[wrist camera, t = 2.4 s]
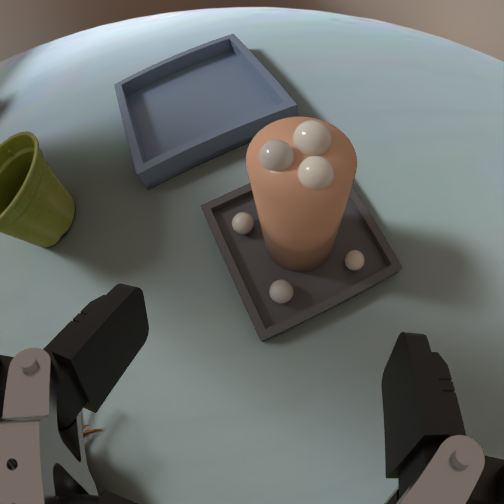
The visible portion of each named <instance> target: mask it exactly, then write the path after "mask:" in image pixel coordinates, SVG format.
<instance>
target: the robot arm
mask: <svg viewBox="0 0 504 504" xmlns="http://www.w3.org/2000/svg"><path fill="white" fill-rule="evenodd" d="M148 331H149V325H148V319H147V313H146V307H145V301H144V295H143V291H142V290H141V289H140V288H138V287H133V286H129V285H124V284H117V285H116V286H115V287H114V288H113V289H112V290H111V291H110V292H109V293H108V294H107V295H103V296H101V297H99V298H97V299H95V300H93V301H91V302H90V303H89V304H88V305H87V306H86V307H85V308H84V309H83V310H82V311H81V313H80V314H78V315H77V316H76V317H75V318H74V319H73V321H71V322H70V323H69V324H68V325H67V326H66V327H65V328H64V329H63V330H62V331H61V332H60V333H59V334H58V335H57V336H56V337H55V338H54V339H53V340H52V341H51V342H50V343H49V344H48V345H47V346H46V347H45V348H44V349H40V348H29V349H25V350H23V351H21V352H19V353H18V354H17V355H16V356H15V357H9V356H3V355H0V504H137V503H134V502H132V501H130V500H127V499H125V498H123V497H121V496H118V495H116V494H114V493H112V492H110V491H108V490H106V489H105V490H104V492H103V494H102V495H101V496H98V492H97V488H96V485H95V483H94V480H93V478H92V476H91V474H90V472H89V469H88V466H87V460H86V454H85V447H84V439H83V431H82V422H81V416H80V414H79V413H80V411H81V410H82V409H83V407H84V408H86V409H88V410H90V411H92V412H94V413H96V412H97V411H98V409H99V408H100V406H101V405H102V404H103V402H104V401H105V399H106V398H107V396H108V395H109V393H110V392H111V390H112V389H113V387H114V386H115V385H116V383H117V382H118V380H119V379H120V377H121V376H122V375H123V373H124V372H125V370H126V369H127V367H128V366H129V365H130V363H131V362H132V360H133V359H134V357H135V356H136V355H137V353H138V352H139V350H140V349H141V348H142V346H143V345H144V343H145V342H146V339H147V336H148ZM454 390H455V389H454V386H453V382H452V381H451V375H450V372H449V369H448V365H447V364H446V363H445V361H444V360H443V359H442V357H441V356H440V355H439V353H436V352H431V349H430V346H429V342H428V339H427V337H426V335H424V334H415V333H405V332H402V333H401V334H400V335H399V337H398V339H397V341H396V344H395V346H394V348H393V351H392V353H391V355H390V358H389V360H388V362H387V365H386V367H385V369H384V373H383V377H382V398H383V412H384V429H385V458H386V478H398V479H399V487H398V488H397V489H396V490H395V491H394V492H393V493H392V495H391V496H390V497H389V498H388V499H387V501H386V502H385V503H384V504H504V460H502V459H497V458H493V457H488V456H485V455H484V453H483V450H482V448H481V447H480V445H479V444H478V443H477V442H476V441H475V440H473V439H472V438H470V437H467V436H466V434H465V429H464V425H463V421H462V416H461V412H460V408H459V404H458V400H457V397H456V393H454Z"/></svg>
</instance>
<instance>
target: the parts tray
mask: <svg viewBox="0 0 504 504" xmlns="http://www.w3.org/2000/svg"><path fill="white" fill-rule="evenodd" d="M201 207H202V210H203V212H204V214H205V217H206V219H207V221H208V224H209V226H210V228H211V231H212V233H213V235H214V237H215V240H216V242H217V244H218V247H219V249H220V251H221V253H222V256H223V258H224V260H225V263H226V265H227V267H228V269H229V272H230V274H231V276H232V278H233V281H234V283H235V285H236V287H237V290H238V292H239V294H240V296H241V298H242V301H243V303H244V305H245V307H246V310H247V312H248V314H249V316H250V318H251V320H252V323H253V325H254V327H255V329H256V331H257V334H258V336H259V338H260V340H261V341H262V342H263V341H266V340H268V339H270V338H272V337H274V336H276V335H279V334H281V333H283V332H285V331H287V330H289V329H291V328H293V327H295V326H297V325H299V324H302V323H304V322H306V321H308V320H310V319H312V318H314V317H316V316H318V315H320V314H322V313H324V312H326V311H328V310H330V309H331V308H333V307H335V306H337V305H339V304H341V303H343V302H345V301H347V300H349V299H351V298H352V297H354V296H356V295H358V294H360V293H362V292H364V291H365V290H367V289H369V288H371V287H373V286H375V285H376V284H378V283H380V282H382V281H384V280H385V279H387V278H389V277H391V276H392V275H394V274H396V273H398V272H399V271H400V270H401V269H402V266H401V265H400V263H399V261H398V259H397V258H396V256H395V254H394V252H393V251H392V249H391V247H390V246H389V244H388V242H387V241H386V239H385V237H384V236H383V234H382V232H381V231H380V229H379V227H378V226H377V224H376V223H375V221H374V219H373V218H372V216H371V215H370V213H369V211H368V210H367V208H366V207H365V205H364V204H363V202H362V201H361V199H360V198H359V196H358V194H357V193H356V191H355V190H354V188H353V187H351V191H350V194H349V197H348V200H347V204H346V207H345V210H344V213H343V217H342V220H341V223H340V226H339V229H338V232H337V235H336V238H335V242H334V245H333V248H332V250H331V253H330V255H329V257H328V258H327V259H326V261H325V262H324V263H323V264H321V265H320V266H318V267H317V268H315V269H312V270H309V271H305V272H294V271H289V270H286V269H284V268H282V267H280V266H279V265H277V264H276V263H275V262H274V261H273V260H272V259H271V257H270V256H269V254H268V252H267V250H266V246H265V242H264V238H263V233H262V229H261V225H260V221H259V217H258V212H257V208H256V204H255V200H254V196H253V191H252V187H251V183H250V184H247V185H245V186H243V187H241V188H238V189H236V190H234V191H232V192H230V193H227V194H225V195H223V196H221V197H219V198H217V199H214V200H212V201H210V202H208V203H206V204H204V205H202V206H201Z"/></svg>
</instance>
